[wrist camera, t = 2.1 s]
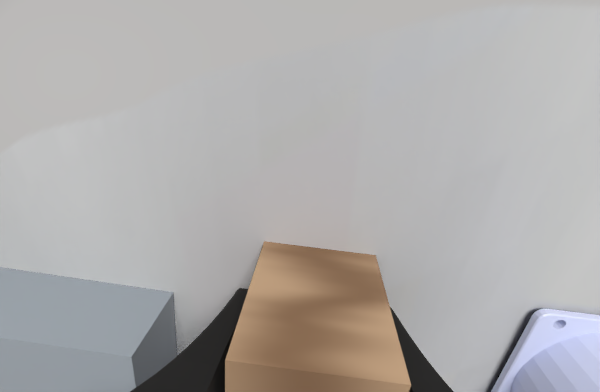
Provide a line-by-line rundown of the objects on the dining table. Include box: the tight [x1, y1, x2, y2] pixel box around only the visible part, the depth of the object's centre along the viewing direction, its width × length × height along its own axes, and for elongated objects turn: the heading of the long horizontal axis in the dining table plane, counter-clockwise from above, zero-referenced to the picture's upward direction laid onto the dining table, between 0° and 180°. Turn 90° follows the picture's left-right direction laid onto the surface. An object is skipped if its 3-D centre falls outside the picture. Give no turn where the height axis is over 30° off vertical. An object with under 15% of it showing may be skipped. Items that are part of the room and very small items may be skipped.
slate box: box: [0, 267, 177, 392], centre depth 16 cm, size 10×10×4 cm
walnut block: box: [225, 242, 411, 392], centre depth 12 cm, size 5×5×6 cm
